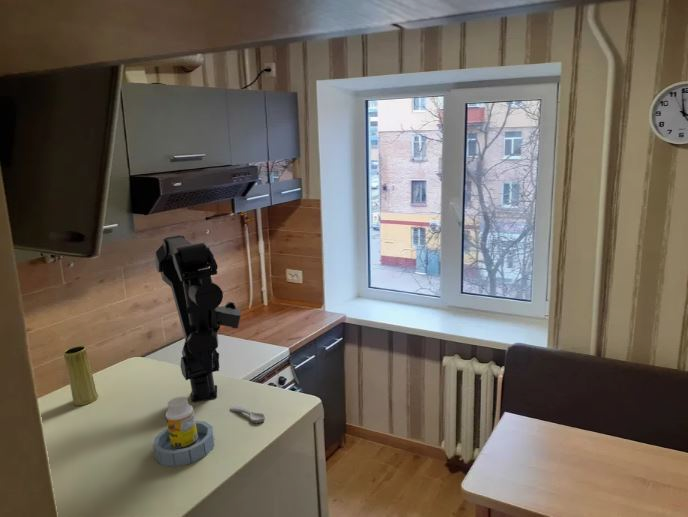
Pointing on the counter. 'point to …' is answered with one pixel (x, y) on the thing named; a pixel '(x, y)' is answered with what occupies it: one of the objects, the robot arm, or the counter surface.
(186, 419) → the supplement bottle
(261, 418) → the spoon
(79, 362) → the vase
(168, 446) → the bowl
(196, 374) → the robot arm
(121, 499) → the counter surface
